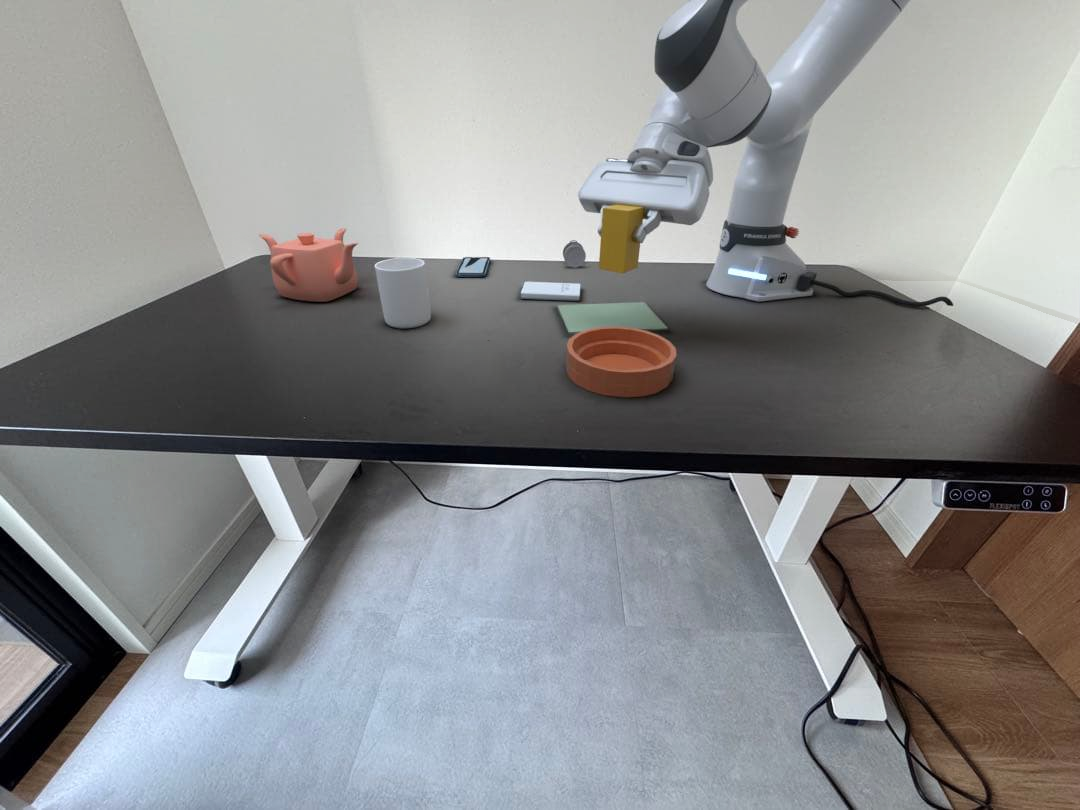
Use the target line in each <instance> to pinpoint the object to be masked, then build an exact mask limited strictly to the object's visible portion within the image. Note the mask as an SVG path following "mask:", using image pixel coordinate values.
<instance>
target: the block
mask: <svg viewBox="0 0 1080 810" xmlns="http://www.w3.org/2000/svg"><path fill="white" fill-rule="evenodd" d="M643 214H644V208H643V207H636V206H627V205H619V204H617V205H612V206H608V207H604V208H603V213H602V221H601V222H602V228H601V237H600V244H599V245H600V247H599V260H598V269H599V270H604V271H608V272H614V273H618V274H626V273H628V272H630V271H634V270H635V269H638V268H639V258H640V249H641V243H637V242H633V240H632V238H631V234H632V232H633V231H634V228H635V226H641V225H642V224H643V223H644V219H643Z"/></svg>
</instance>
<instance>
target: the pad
mask: <svg viewBox="0 0 1080 810" xmlns="http://www.w3.org/2000/svg"><path fill="white" fill-rule="evenodd" d="M557 311H558V313H559V316H560V317H561V318H562V321H563V323H564V325H565V327H566V330H567V332H568V334H577V333H579V332H582V331H585V330H587V329H593V328H598V327H616V326H617V327H629V328H635V329H640V330H645V331H658V330H668V329H669V327H668V326H666V324H665V323H664V322H663V321H662V320H661V319H660V318H659V317H658V316H657V314H655V312H654V311H653V310H652V309H651V307H650V306H649V305H648V304H647V303H646V302H644V301H640V302H639V301H637V302H635V301H634V302H611V303H610V302H608V303H581V304H578V303H577V304H576V303H575V304H557Z"/></svg>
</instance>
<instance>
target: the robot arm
mask: <svg viewBox="0 0 1080 810" xmlns="http://www.w3.org/2000/svg"><path fill="white" fill-rule="evenodd" d="M748 1H749V0H688V1H687V3H685V4H683V6H681V7H680V8H679V9H678V10H676V11H675V12H674V13H673V14H672V15H671V16H670V17H669V19H667V21H666V22H665V24H664V25H663V26H662V28H661V29H660V30H659V32H658V34H657V36H656V40H655V48H654V57H653V58H654V61H653V63H654V72H655V74H656V76H657V77H658V78H659V79H660V80H661V81H662V82H663V84H664V85H665V86H664V87H663V89H662V91H661V93H660V94H659V95H658V98H657V99H656V101H655V102H654V104H653V107H652V109H651V111H650V116H649V117H650V118H649V120H648V121H647V123H646V124H645V125H644V126H643V128H642V129H641V131H640V133H639V135H638V137H637V138H636V140H635V143H634V145H633V146H632V148H631V150H630V152H629V154H628V156H627V158H613V157H607V158H606V160H603V161H601V162H598V163H597V164H596V165H595V167H594V168H593V169H592V170H591V172H590V173H589V174H588V176H587V177H586V179H585V180H584V182H583V184H582V185H581V187H580V189H579V191H578V192H577V197H578V200H579V203H580V205H581V206H582V208H583V210H584V211H585V212H587V213H594V214H600V224H599V226H598V228H597V233H598V236H599V237H600V238H601V228H602V213H603V208H604V207H608V206H612V205H617V204H619V205H627V206H636V207H643V208H644V214H643V220H645V221H643V223H642V225H641V226H635V228H634V231H633V232H632V234H631V238H632V240H633V242H637V243H640V244H643V243H644V241H645V239H646V237H647V235H649V234H650V233H652V232H653V231H654V230H656V229H657V228H658V227H660V225H661V223H671V224H678V225H684V226H693V225H695V224H696V223H698V222H699V221H700V220H701V218H702V217H703V214H704V213H705V210H706V207H707V204H708V201H709V198H710V187H711V185H712V183H713V181H714V169H713V163H712V158H711V155H710V151H709V148H716V147H724V146H729V145H733V144H735V143H737V142H740V141H742V140H743V139H745V138H746V140H747V141H746V144H745V147H744V151H743V154H742V158H741V161H740V164H739V167H738V171H737V173H736V176H735V178H734V182H733V187H732V192H731V197H730V201H729V207H728V211H727V216H726V219H725V220H724V222H723V224H722V230H721V235H720V239H719V250H718V253H717V257H716V260H715V263H714V265H713V268H712V270H711V273H710V275H709V276H708V279H707V281H706V282H705V286H706V288H708V289H709V290H711V291H712V292H713V291H714V292H716V293H718V294H722V295H724V296H725V295H726V296H730V297H736V298H741V299H746V300H750V301H754V302H767V301H776V300H777V301H778V300H783V299H784V300H785V299H794V298H803V297H810V296H813V294H814V289H813V287H814V286H816V287H821V288H824V289H828V290H831V291H833V292H835V293H836V294H838V295H839V296H843V297H857V296H863V295H868V296H876V297H880V298H883V299H885V300H889V301H891V302H893V303H896V304H899V305H902V306H907V307H913V308H921V307H927V306H930V305H933V304H936V303H939V302H943V303H944V304H946V306H949V307H953V306H954V303H953V301H952V300H951V299H950V298H949V297H947V296H938V297H935V298H931V299H929V300H928V299H927V300H925V301H913V300H912V301H910V300H907V299H902V298H900V297H896V296H894V295H891V294H888V293H886V292H882V291H878V290H873V289H859V290H855V291H845V290H843V289H841V288H839V287H838V286H836V285H833V284H830V283H827V282H825V281H824V282H823V281H820V280H816V278H817V276H818V272H814V271H809V270H808V271H807V267H806V263H805V262H804V260H802V258H801V257H800V256H799V255H798V254H797V253H796V252H795V251H794V250H793V249H792V248H791V247H790V246H789V244H788V243H786V242H787V238H790V239H796V238H797V237H798V236H799V235H800V230H799V229H798V228H797V227H794V226H789V227H787V225H785V224H784V220H785V216H786V212H787V208H788V204H789V201H790V197H791V193H792V191H793V190H792V189H793V186H794V183H795V179H796V176H797V173H798V170H799V166H800V163H801V160H802V157H803V154H804V151H805V147H806V143H807V141H808V136H809V134H810V130H811V127H812V123H813V120H814V116H815V115H816V113H817V112H818V111H819V110H820V109H821V107H823V105H824V104H825V103H826V102H827V100H828V99H829V98H830V97H831V96H832V95H833V94H834V92H835V91H836V90H837V89H838V88H839V86H840V85H841V84H842V83H843V82H844V81H845V80H846V79H847V78H848V76H849V75H850V74H851V73H852V72H853V71H854V70H855V69H856V68H857V66H858V65H859V64H860V63H861V62H862V61H863V59H865V57H866V56H867V54H868V53H869V52H870V51H871V49H872V48H874V46H875V44H876V43H877V42H878V41H879V40H880V39H881V37H883V35H884V33H885V32H887V30H888V29H889V28H890V26H892V24H893V23H894V22H895V20H896V19H897V18H898V16H899V15H901V13H902V12H903V10H904V9H906V6H908V5H909V3H910V2H911V0H824V2H823V3H822V5H821V6H820V7H819V9H818V10H817V11H816V13H815V14H814V16H813V17H812V18H811V20H810V21H809V23H808V24H807V25H806V27H805V28H804V29H803V31H801V33H800V34H799V36H798V37H797V38H796V39H795V40H794V42H793V43H792V44H791V45H790V46H789V47H788V48H787V50H786V51H785V52H784V53H783V55H782V56H781V57H780V58H779V59H778V61H777V62H775V64H774V65H773V67H772V68H771V69H770V70H769V72H768V73H767V74H766V75H765V74H764V72H763V70H762V68H761V65H760V64H759V62H758V61H757V59H756V58H755V57H754V55H753V53H752V52H751V51H750V48H749V47H748V45H747V43H746V41H745V40H744V38H743V36H742V35H741V33H740V32H739V31H740V30H738V27H737V15H738V14H739V13H738V12H739V10H740V9H741V8H742V7H743V6H744V5H745V4H746V3H747V2H748Z"/></svg>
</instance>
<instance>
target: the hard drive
mask: <svg viewBox="0 0 1080 810" xmlns="http://www.w3.org/2000/svg"><path fill="white" fill-rule="evenodd" d="M580 298H581V283H572V282H570V283H569V282H549V281H548V282H545V281H524V284H523V286H522V289H521V291H520V299H521V300H541V301H543V300H544V301H565V302H566V301H567V302H579V301H580Z"/></svg>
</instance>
